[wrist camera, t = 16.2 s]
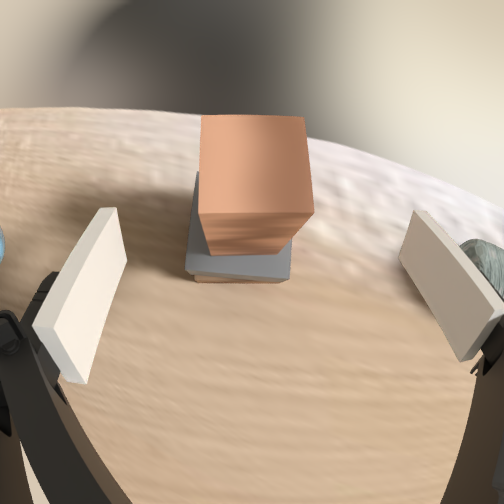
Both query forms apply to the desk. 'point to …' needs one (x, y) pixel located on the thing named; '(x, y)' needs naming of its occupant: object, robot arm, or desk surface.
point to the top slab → (231, 266)
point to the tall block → (253, 182)
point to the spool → (487, 261)
